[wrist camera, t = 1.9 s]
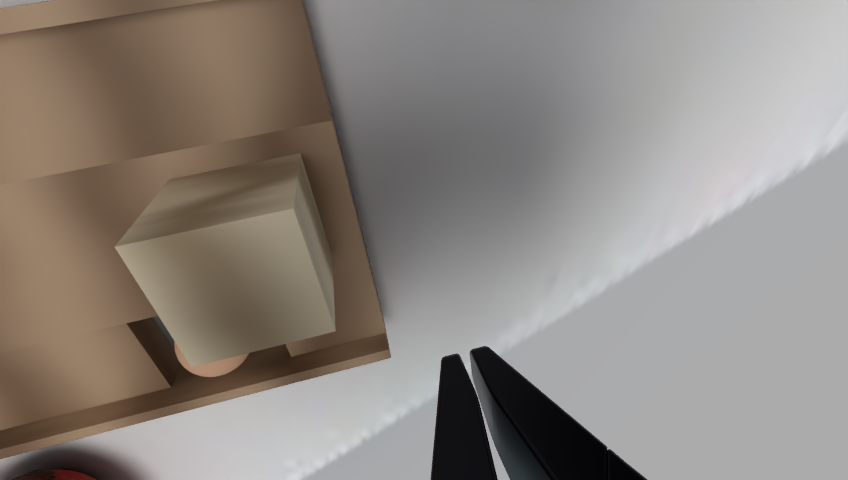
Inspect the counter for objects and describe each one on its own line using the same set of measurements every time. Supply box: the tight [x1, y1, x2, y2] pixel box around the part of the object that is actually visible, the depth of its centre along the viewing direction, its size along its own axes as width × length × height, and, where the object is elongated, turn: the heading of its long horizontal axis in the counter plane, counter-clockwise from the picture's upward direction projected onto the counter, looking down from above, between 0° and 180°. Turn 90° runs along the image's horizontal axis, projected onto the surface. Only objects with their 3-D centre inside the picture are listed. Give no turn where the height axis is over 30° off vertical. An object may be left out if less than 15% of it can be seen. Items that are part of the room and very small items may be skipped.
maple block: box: [115, 153, 336, 367], centre depth 15 cm, size 5×5×5 cm
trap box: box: [0, 0, 391, 459], centre depth 17 cm, size 23×17×4 cm
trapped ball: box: [174, 342, 249, 377], centre depth 20 cm, size 3×3×3 cm
